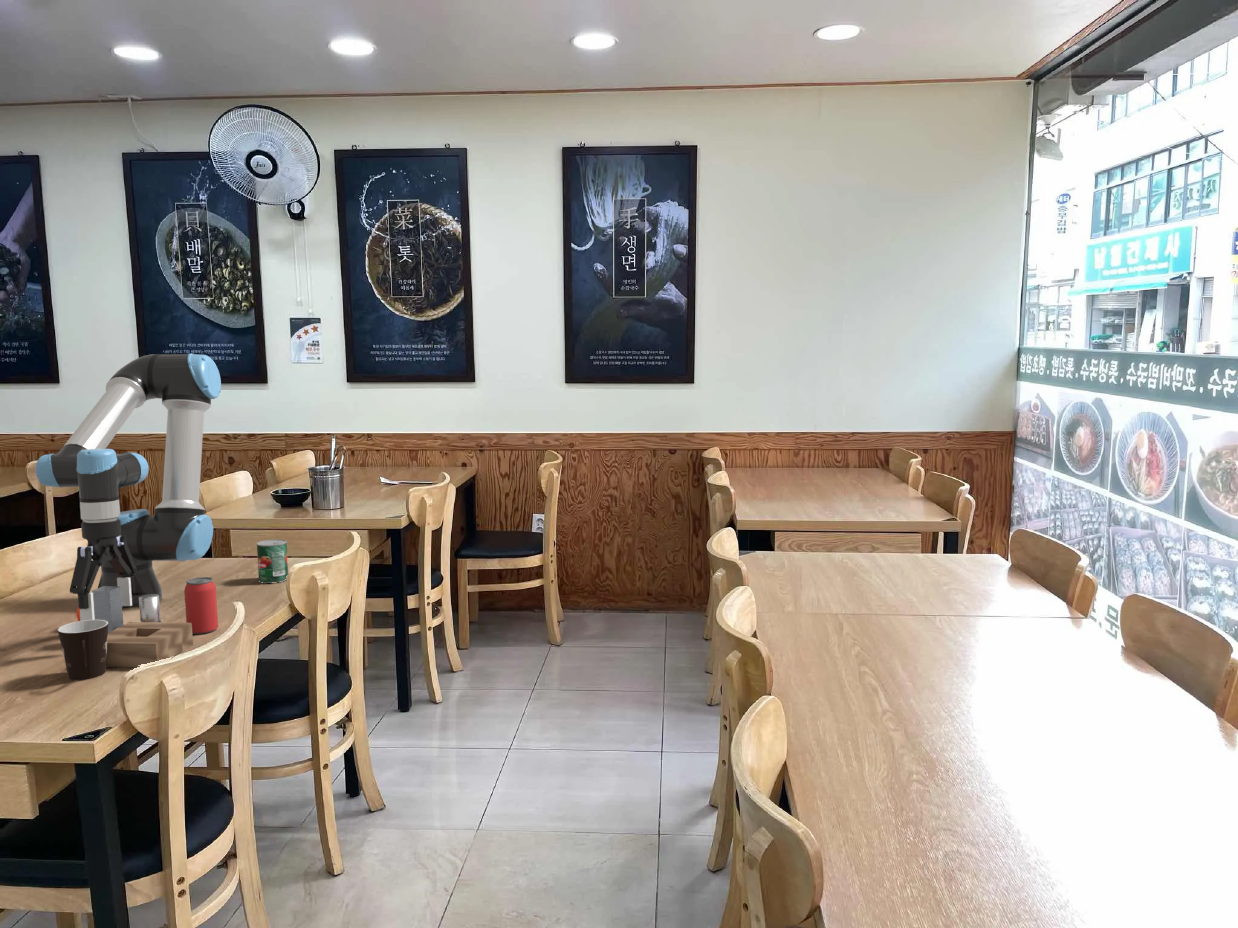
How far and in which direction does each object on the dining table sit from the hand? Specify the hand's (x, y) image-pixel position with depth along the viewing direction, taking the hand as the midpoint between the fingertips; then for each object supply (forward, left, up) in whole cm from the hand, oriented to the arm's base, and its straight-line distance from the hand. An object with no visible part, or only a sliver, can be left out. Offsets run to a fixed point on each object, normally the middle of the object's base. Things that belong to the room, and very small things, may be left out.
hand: (107, 613), depth 198 cm
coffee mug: (+22, +8, -7) cm, 24 cm away
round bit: (-1, +9, -6) cm, 11 cm away
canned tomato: (-53, +14, -7) cm, 56 cm away
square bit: (0, 0, -6) cm, 6 cm away
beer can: (-8, +17, -7) cm, 20 cm away
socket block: (+9, +13, -6) cm, 17 cm away
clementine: (-10, -10, -7) cm, 16 cm away
